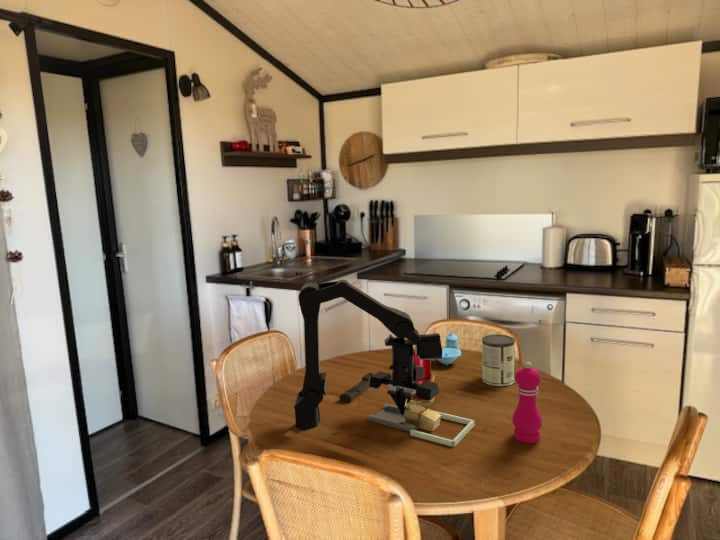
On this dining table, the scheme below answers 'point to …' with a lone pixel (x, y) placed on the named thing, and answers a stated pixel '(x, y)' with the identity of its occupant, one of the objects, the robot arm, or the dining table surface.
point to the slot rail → (391, 418)
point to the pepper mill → (527, 405)
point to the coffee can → (498, 360)
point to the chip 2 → (429, 420)
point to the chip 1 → (413, 414)
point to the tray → (445, 441)
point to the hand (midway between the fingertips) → (403, 414)
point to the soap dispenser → (450, 349)
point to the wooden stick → (356, 389)
